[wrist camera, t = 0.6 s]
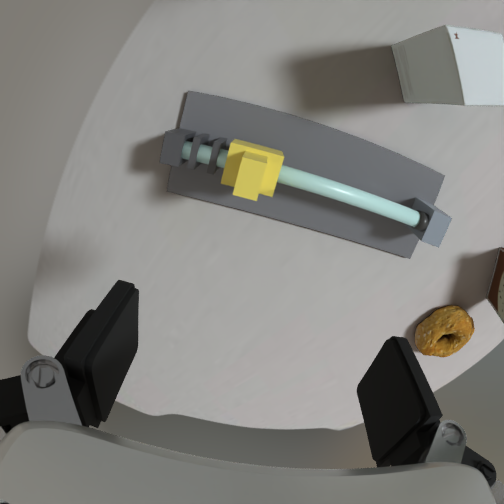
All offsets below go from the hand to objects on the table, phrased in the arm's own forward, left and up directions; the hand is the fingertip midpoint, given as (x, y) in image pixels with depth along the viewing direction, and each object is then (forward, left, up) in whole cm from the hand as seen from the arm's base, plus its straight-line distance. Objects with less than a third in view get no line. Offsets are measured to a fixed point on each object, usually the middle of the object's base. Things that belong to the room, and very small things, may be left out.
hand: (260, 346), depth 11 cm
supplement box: (-19, +14, -27) cm, 36 cm away
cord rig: (-2, +5, -27) cm, 27 cm away
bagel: (+14, +34, -27) cm, 46 cm away
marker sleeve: (-2, -2, -24) cm, 24 cm away
